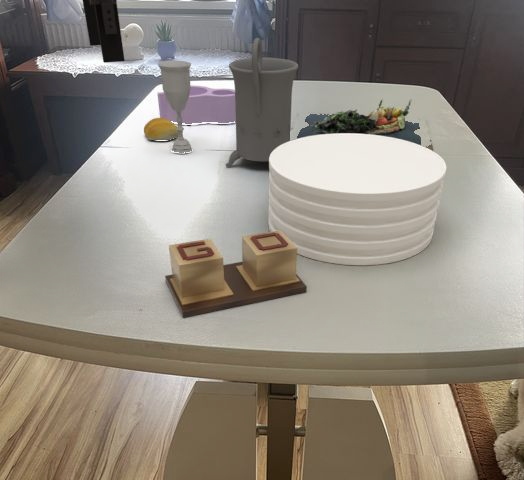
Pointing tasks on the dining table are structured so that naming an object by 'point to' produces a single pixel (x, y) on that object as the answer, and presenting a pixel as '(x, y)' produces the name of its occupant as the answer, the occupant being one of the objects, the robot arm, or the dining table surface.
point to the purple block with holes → (202, 106)
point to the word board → (233, 292)
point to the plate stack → (355, 197)
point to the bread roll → (160, 129)
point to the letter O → (269, 258)
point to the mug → (261, 104)
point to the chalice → (177, 95)
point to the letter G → (197, 267)
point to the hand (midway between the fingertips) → (106, 53)
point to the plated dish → (365, 124)
